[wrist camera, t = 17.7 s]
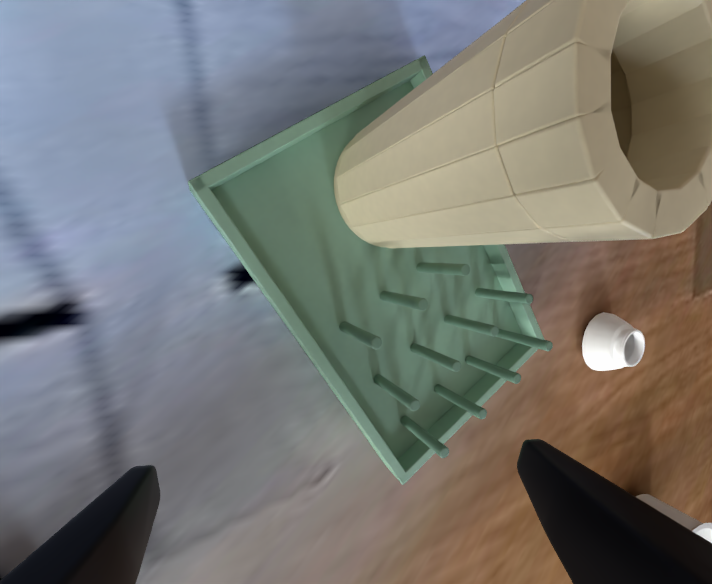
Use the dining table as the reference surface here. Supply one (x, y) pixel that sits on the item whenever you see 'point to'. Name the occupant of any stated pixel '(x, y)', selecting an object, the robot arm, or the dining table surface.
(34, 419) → the dining table surface
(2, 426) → the dining table surface
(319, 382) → the dining table surface
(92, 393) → the dining table surface
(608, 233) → the beige cylindrical vase
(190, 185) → the dish rack
